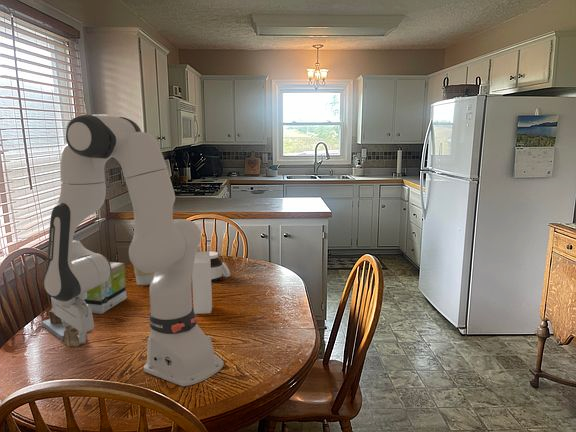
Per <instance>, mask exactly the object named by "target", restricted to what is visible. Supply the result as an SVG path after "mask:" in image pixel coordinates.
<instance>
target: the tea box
mask: <svg viewBox="0 0 576 432" xmlns="http://www.w3.org/2000/svg"><path fill="white" fill-rule="evenodd" d="M109 262H110V265H111V276H110V279H109V280H108V281H107V282H105V283H104V284H102V285H100V286H97V287H95V288H93V289H91V290H89V291H87V298H86V299H85V300H84V301H85V302H86V304H88V305H89V306H90V308H91V311H92V314H99V315H103V314H105V313H106V312H107V311H108V310H110V309H112V308H113V307H115V306H117V305H119V303H121V302H124V301H125V300H127V285H126V270H125V269H126V268H125V267H126V266H125V263H124V262H113V261H109Z"/></svg>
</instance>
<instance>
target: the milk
mask: <svg viewBox="0 0 576 432" xmlns="http://www.w3.org/2000/svg"><path fill="white" fill-rule="evenodd" d="M209 252H210V251H204V250H203V251H196V254H195V260H194V266H193V272H192V280H191V285H192V300H193V302H192V306H193V310H194V312H195V315H201V314H202V315H205V314H211V313H212V310H213V296H212V295H213V294H212V293H213V292H212V291H213V290H212V282H211V262H210V256H209Z"/></svg>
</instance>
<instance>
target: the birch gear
mask: <svg viewBox="0 0 576 432" xmlns="http://www.w3.org/2000/svg"><path fill="white" fill-rule="evenodd" d="M77 336H79V332H78V330H77V329H75V328H74V327H71V328H67V329H66V331H64V340H63V341H64V345H66V347H67V348H68V347H78V346H80V345H85V344H86V343H87V342H86V341H89V339H88V332H87V333H86V341H84V342H79V341H78V338H77Z"/></svg>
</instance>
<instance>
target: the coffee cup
mask: <svg viewBox="0 0 576 432" xmlns="http://www.w3.org/2000/svg"><path fill="white" fill-rule="evenodd" d="M133 270H134V275H135V279H136V280H135V281H136V285H138V286H150V283H151V281H152V279H153V277H154V274H155V272H153V273H144V272H141V271H139V270H138V269H136V268H135V267H134V266H133Z"/></svg>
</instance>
